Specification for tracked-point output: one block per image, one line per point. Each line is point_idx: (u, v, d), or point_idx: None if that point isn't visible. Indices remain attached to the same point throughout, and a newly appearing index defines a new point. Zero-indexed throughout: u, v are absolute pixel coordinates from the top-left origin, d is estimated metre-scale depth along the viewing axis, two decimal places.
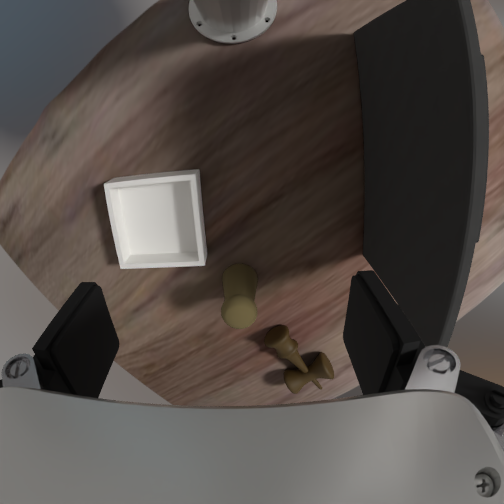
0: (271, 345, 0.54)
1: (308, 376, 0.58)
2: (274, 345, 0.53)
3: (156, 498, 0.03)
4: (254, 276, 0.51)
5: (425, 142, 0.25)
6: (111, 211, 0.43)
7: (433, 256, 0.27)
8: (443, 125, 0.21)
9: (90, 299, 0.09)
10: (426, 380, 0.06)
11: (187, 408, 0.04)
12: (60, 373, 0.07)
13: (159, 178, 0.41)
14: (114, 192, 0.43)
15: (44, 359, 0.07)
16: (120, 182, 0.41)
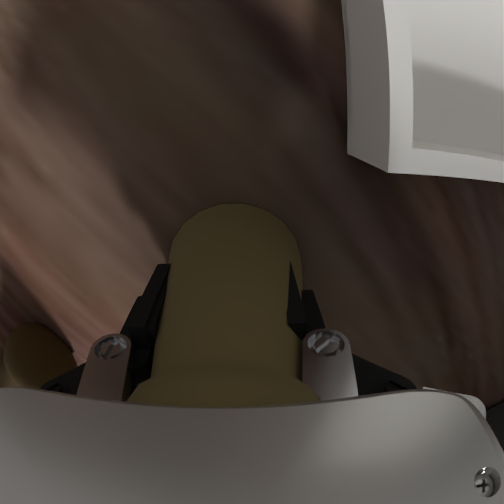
0: (13, 374, 0.12)
1: None
2: (18, 383, 0.12)
3: (156, 498, 0.03)
4: None
5: None
6: None
7: None
8: None
9: None
10: (320, 367, 0.07)
11: (187, 408, 0.04)
12: (153, 351, 0.08)
13: None
14: None
15: (139, 337, 0.08)
16: None
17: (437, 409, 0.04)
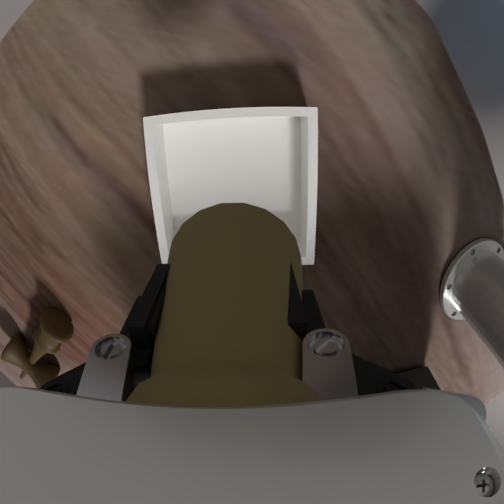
0: (44, 328, 0.31)
1: (28, 368, 0.35)
2: (46, 332, 0.31)
3: (156, 498, 0.03)
4: None
5: None
6: (262, 114, 0.23)
7: None
8: None
9: None
10: (320, 367, 0.07)
11: (187, 408, 0.04)
12: None
13: (314, 211, 0.26)
14: None
15: (139, 337, 0.08)
16: (316, 140, 0.24)
17: (437, 409, 0.04)
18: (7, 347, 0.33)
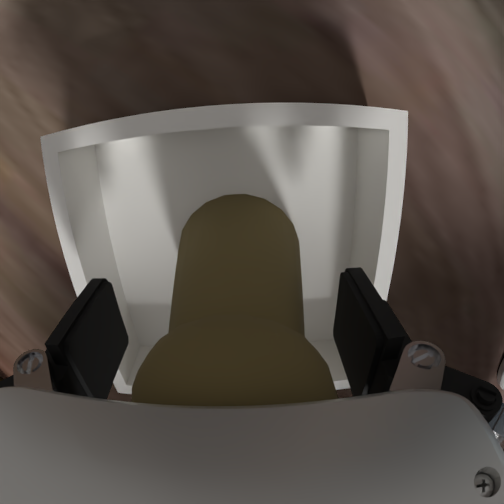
0: None
1: None
2: None
3: (156, 498, 0.03)
4: None
5: None
6: (291, 119, 0.10)
7: None
8: None
9: (101, 295, 0.10)
10: (412, 376, 0.06)
11: (187, 408, 0.04)
12: (72, 368, 0.07)
13: None
14: None
15: (57, 354, 0.07)
16: (401, 182, 0.11)
17: (437, 409, 0.04)
18: None
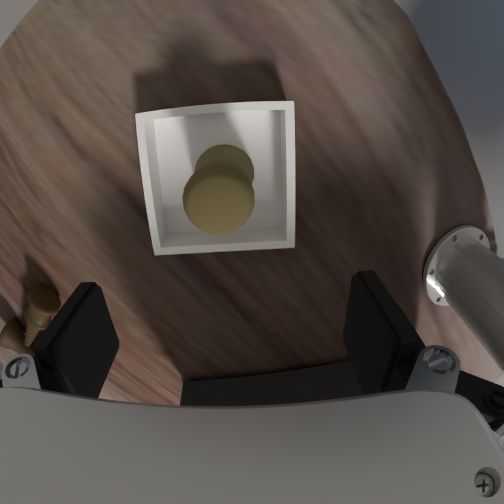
0: (31, 302, 0.32)
1: (23, 351, 0.36)
2: (33, 306, 0.32)
3: (156, 498, 0.03)
4: None
5: None
6: (243, 108, 0.25)
7: None
8: None
9: (90, 299, 0.09)
10: (426, 380, 0.06)
11: (187, 408, 0.04)
12: (60, 373, 0.07)
13: (293, 197, 0.28)
14: None
15: (44, 359, 0.07)
16: (293, 131, 0.26)
17: (437, 409, 0.04)
18: (2, 331, 0.34)
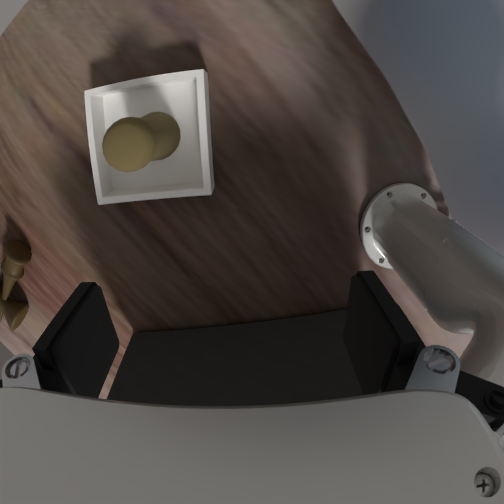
0: (6, 252, 0.35)
1: (0, 304, 0.40)
2: (7, 256, 0.35)
3: (156, 498, 0.03)
4: (166, 155, 0.33)
5: None
6: (162, 79, 0.28)
7: None
8: None
9: (90, 299, 0.09)
10: (426, 380, 0.06)
11: (187, 408, 0.04)
12: (60, 373, 0.07)
13: (206, 148, 0.32)
14: (189, 79, 0.30)
15: (44, 359, 0.07)
16: (203, 93, 0.29)
17: (437, 409, 0.04)
18: None
